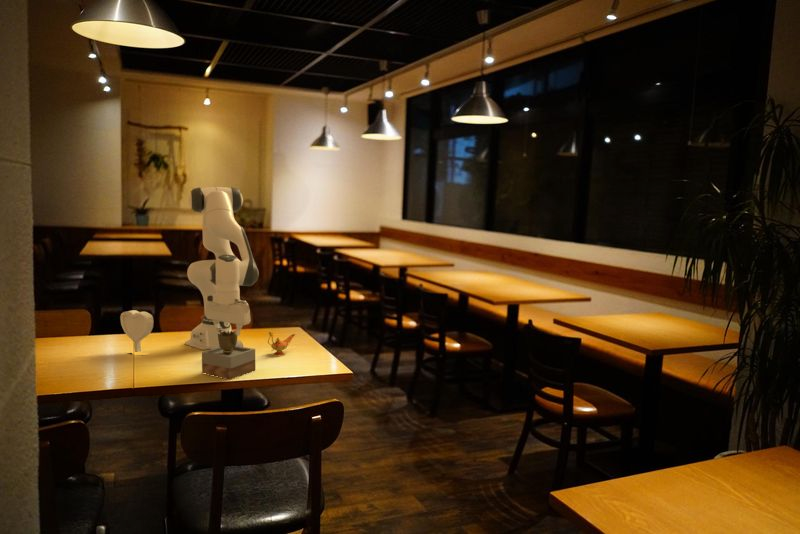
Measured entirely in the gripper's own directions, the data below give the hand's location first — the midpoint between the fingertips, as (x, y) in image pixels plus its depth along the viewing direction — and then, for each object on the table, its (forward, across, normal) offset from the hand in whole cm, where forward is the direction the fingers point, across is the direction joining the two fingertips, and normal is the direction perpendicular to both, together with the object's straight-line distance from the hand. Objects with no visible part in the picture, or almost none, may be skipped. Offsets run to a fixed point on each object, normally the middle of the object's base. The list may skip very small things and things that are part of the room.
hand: (227, 333), depth 229 cm
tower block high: (+11, -1, 0) cm, 11 cm away
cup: (+8, 0, 0) cm, 8 cm away
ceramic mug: (+16, +15, -16) cm, 27 cm away
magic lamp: (+16, +1, -33) cm, 36 cm away
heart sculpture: (+16, +51, +1) cm, 53 cm away
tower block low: (+16, -1, 0) cm, 16 cm away
